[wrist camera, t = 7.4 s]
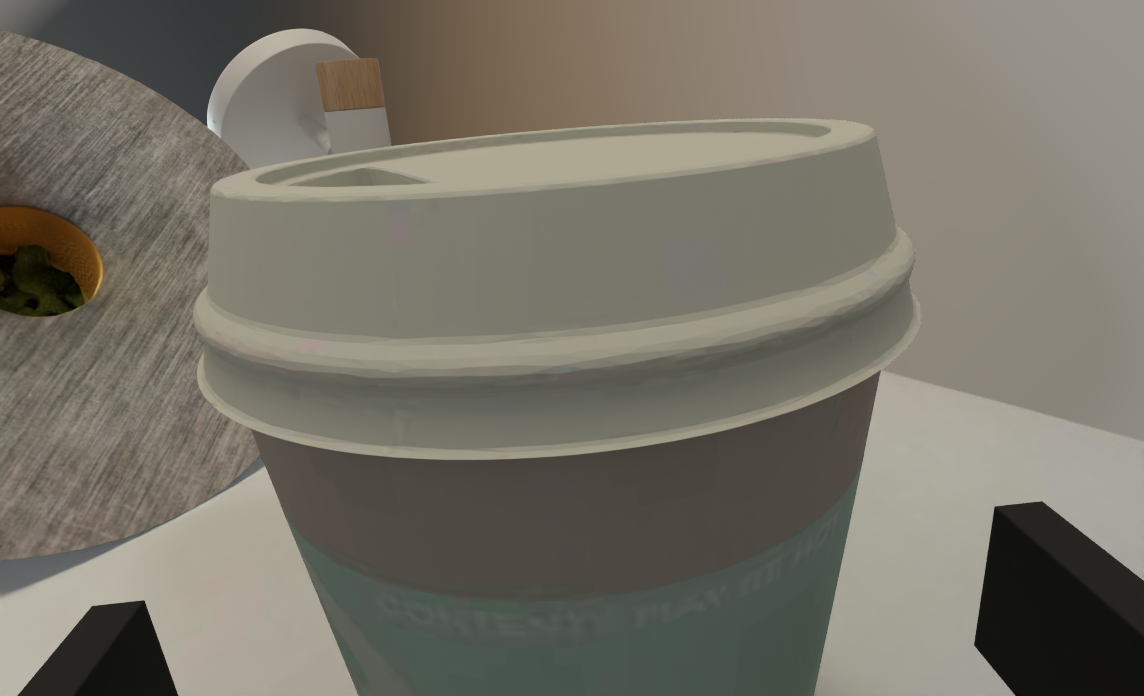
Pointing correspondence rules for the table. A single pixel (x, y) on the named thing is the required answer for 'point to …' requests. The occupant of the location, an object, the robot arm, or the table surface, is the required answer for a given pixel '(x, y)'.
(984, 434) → the table surface
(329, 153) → the light fixture
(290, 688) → the table surface
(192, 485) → the grey round piece
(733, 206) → the coffee cup
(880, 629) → the table surface
